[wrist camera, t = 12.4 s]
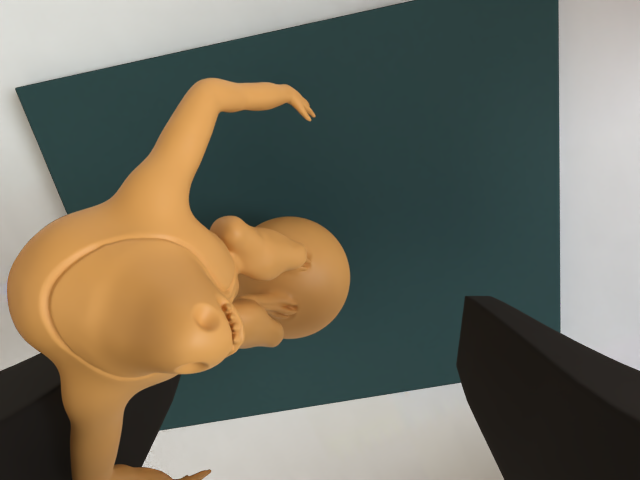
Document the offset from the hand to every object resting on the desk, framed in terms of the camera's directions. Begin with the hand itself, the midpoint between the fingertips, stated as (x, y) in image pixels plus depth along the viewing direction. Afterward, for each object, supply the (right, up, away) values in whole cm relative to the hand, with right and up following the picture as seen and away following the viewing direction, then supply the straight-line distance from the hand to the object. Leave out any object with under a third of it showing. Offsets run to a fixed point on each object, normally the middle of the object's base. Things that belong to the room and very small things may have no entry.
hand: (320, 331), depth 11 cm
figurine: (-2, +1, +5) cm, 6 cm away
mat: (0, +2, +6) cm, 7 cm away
